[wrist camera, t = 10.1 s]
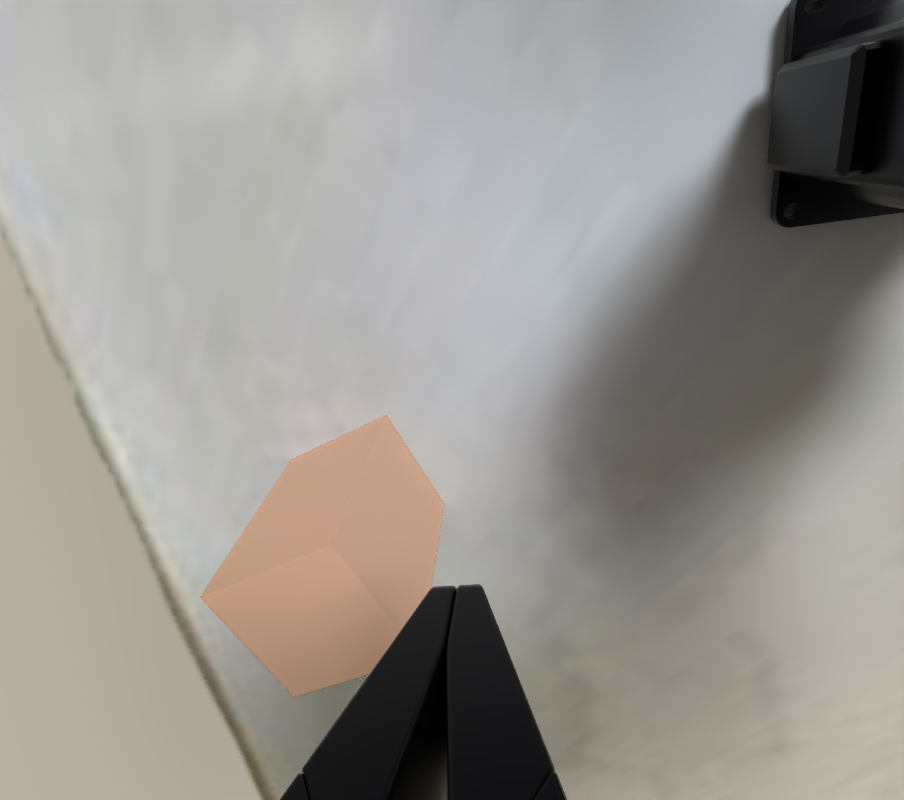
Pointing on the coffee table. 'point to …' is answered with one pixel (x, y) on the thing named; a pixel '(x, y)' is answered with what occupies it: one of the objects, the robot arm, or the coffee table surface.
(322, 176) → the coffee table surface
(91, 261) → the coffee table surface
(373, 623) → the terracotta block
